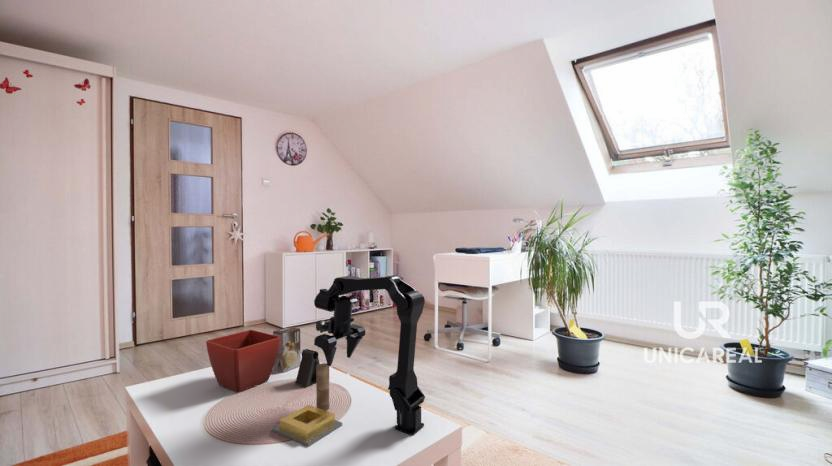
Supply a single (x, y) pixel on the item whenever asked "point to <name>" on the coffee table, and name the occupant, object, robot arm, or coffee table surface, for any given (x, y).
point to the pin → (322, 386)
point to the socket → (307, 425)
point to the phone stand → (307, 368)
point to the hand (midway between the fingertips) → (339, 361)
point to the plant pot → (243, 358)
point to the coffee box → (288, 349)
